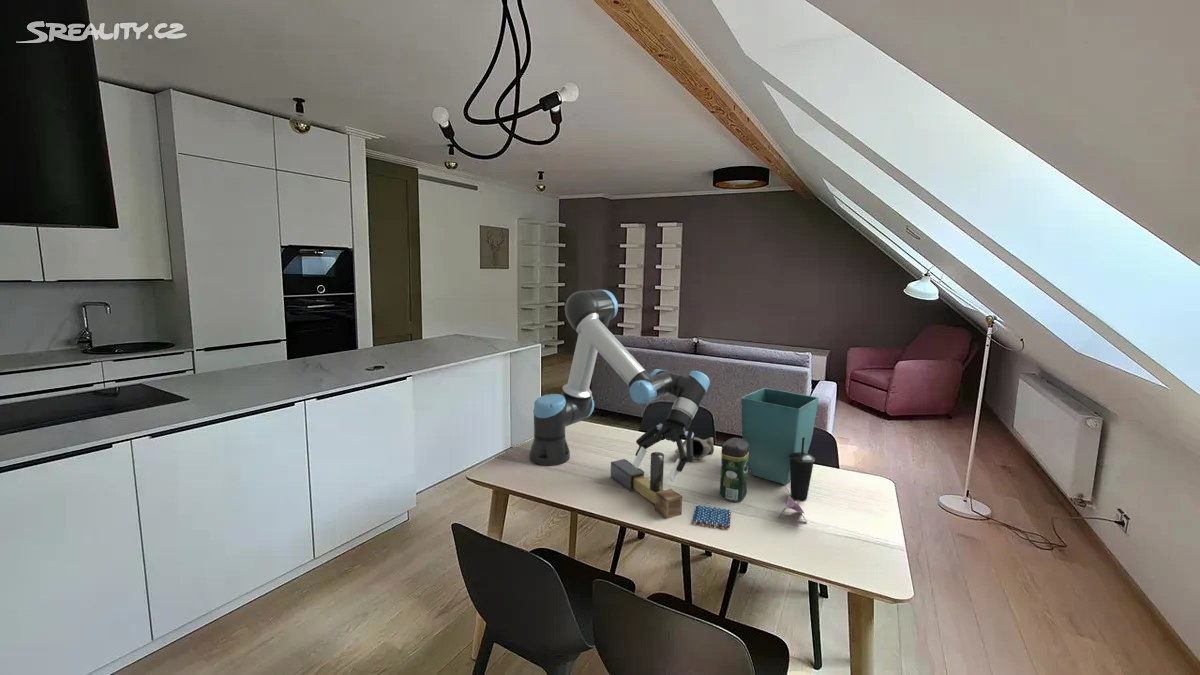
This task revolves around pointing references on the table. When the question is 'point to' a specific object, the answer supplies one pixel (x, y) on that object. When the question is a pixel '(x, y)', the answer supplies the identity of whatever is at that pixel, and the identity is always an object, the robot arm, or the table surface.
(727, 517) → the woven mat
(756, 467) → the teal waste bin
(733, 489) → the coffee jar
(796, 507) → the lily
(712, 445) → the pipe
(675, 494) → the socket
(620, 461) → the sleeve
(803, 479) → the drinking cup
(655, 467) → the slide bolt with knob
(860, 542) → the table surface
